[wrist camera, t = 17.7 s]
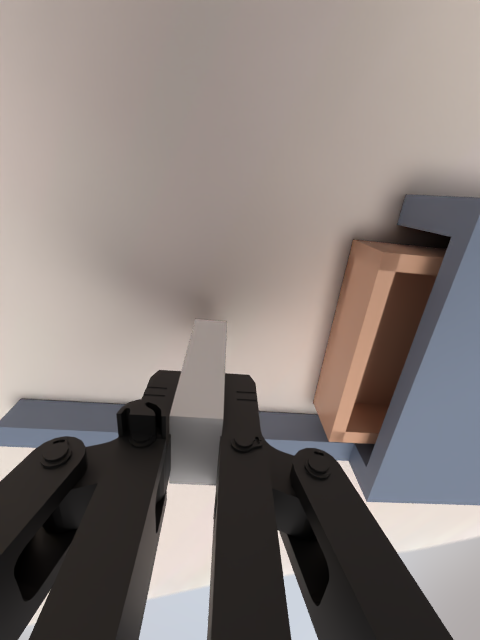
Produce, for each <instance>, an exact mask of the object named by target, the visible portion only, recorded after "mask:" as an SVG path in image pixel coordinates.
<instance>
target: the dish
mask: <svg viewBox="0 0 480 640" xmlns="http://www.w3.org/2000/svg"><path fill="white" fill-rule="evenodd" d="M446 250H447V249H444V248H434V247H424V246H414V245H404V244H394V243H384V242H374V241H364V240H354V239H353V242H352V246H351V250H350V254H349V258H348V263H347V267H346V271H345V275H344V279H343V283H342V287H341V291H340V295H339V299H338V303H337V307H336V312H335V316H334V320H333V324H332V328H331V332H330V336H329V340H328V344H327V348H326V352H325V356H324V360H323V365H322V369H321V373H320V377H319V381H318V385H317V389H316V393H315V397H314V401H313V403H314V406H315V408H316V411H317V413H318V416H319V418H320V421H321V423H322V426H323V428H324V431H325V433H326V436H327V438H328V441H329V442H345V443H366V444H375V443H376V440H377V437H378V435H379V432H380V429H381V427H382V424H383V421H384V418H385V416H386V413H387V410H388V408H389V405H390V402H391V399H392V397H393V394H394V391H395V389H396V386H397V383H398V380H399V378H400V375H401V372H402V370H403V367H404V364H405V361H406V359H407V356H408V353H409V351H410V348H411V345H412V342H413V340H414V337H415V334H416V332H417V329H418V326H419V323H420V321H421V318H422V315H423V313H424V310H425V307H426V304H427V302H428V299H429V296H430V294H431V291H432V288H433V285H434V283H435V280H436V277H437V275H438V272H439V269H440V266H441V264H442V261H443V258H444V256H445V253H446Z"/></svg>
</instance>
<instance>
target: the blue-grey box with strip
mask: <svg viewBox="0 0 480 640" xmlns="http://www.w3.org/2000/svg"><path fill="white" fill-rule="evenodd" d="M397 225H401V226H405V227H410V228H414V229H418V230H423V231H427V232H432V233H436V234H441V235H445V236H449V237H451V239H450V242H449V245H448V247H447V250H446V253H445V256H444V258H443V261H442V264H441V266H440V269H439V272H438V275H437V277H436V280H435V283H434V285H433V288H432V291H431V294H430V296H429V299H428V302H427V304H426V307H425V310H424V313H423V315H422V318H421V321H420V323H419V326H418V329H417V332H416V334H415V337H414V340H413V342H412V345H411V348H410V351H409V353H408V356H407V359H406V361H405V364H404V367H403V370H402V372H401V375H400V378H399V380H398V383H397V386H396V389H395V391H394V394H393V397H392V399H391V402H390V405H389V408H388V410H387V413H386V416H385V418H384V421H383V424H382V427H381V429H380V432H379V435H378V437H377V440H376V443H375V444H366V443H345V442H329V441H328V438H327V436H326V433H325V431H324V428H323V426H322V423H321V421H320V418H319V416H318V415H314V414H295V413H276V412H259V419H260V427H261V433H262V436H263V437H264V439H265V440H266V442H267V443H268V444H269V445H271V446H272V447H274V448H275V449H277V450H280V451H282V452H285V453H288V454H291V455H295V454H296V453H297V452H298V451H299V450H302V449H304V448H317V449H320V450H323V451H325V452H327V453H328V454H330V455H331V456H333V457H334V459H335V460H343V461H349V463H350V465H351V467H352V469H353V472H354V474H355V476H356V479H357V481H358V483H359V485H360V488H361V490H362V492H363V494H364V497H365V499H366V501H367V502H392V503H424V504H456V505H480V198H473V197H451V196H429V195H407V194H406V196H405V199H404V203H403V206H402V209H401V213H400V216H399V220H398V223H397ZM124 405H126V404H107V403H88V402H69V401H50V400H32V399H20V400H19V401H18V402H17V403H16V405H15V406H14V407H13V408H12V409H11V410H10V411H9V412H8V413H7V414H6V415H5V416H4V417H3V418H2V419H1V420H0V446H7V447H31V448H37V447H39V446H40V445H41V444H43V443H45V442H47V441H49V440H52V439H54V438H58V437H64V436H70V437H76V438H78V439H80V440H82V442H83V443H84V445H85V447H88V446H93V445H98V444H103V443H106V442H110V441H112V440H114V439H116V438H118V426H117V415H116V413H117V412H118V411H119V410H120V408H121V407H123V406H124Z"/></svg>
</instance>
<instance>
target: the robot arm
mask: <svg viewBox="0 0 480 640" xmlns="http://www.w3.org/2000/svg"><path fill="white" fill-rule="evenodd" d="M226 332H227V321H217V320H203V319H195V322H194V326H193V330H192V333H191V337H190V341H189V345H188V348H187V352H186V356H185V360H184V363H183V367H182V371H167V370H159V371H158V372H156V373H155V374H154V375H153V376H152V377H151V378H150V380H149V383H148V385H147V388H146V390H145V392H144V396H143V397H142V399H141V400H136V401H132V402H129V403H128V404H126V405H124V406H123V407H121V408H120V410H119V411H118V412H117V413H116V415H117V426H118V438H116V439H114V440H112V441H110V442H106V443H103V444H98V445H93V446H88V447H85V445H84V443H83V442H82V440H80V439H78V438H76V437H70V436H64V437H58V438H54V439H52V440H49V441H47V442H45V443H43V444H41V445H40V446H39V447H37V448H36V449H35V450H33V451H32V452H31V453H30V454H29V455H28V456H27V457H26V458H25V459H24V460H23V461H22V462H21V463H20V464H19V465H17V466H16V467H15V468H14V469H13V470H12V471H11V472H10V473H9V474H8V475H7V476H6V477H5V478H4V479H3V480H1V481H0V640H18V639H19V637H20V635H21V634H22V632H23V631H24V629H25V628H26V626H27V625H28V623H29V622H30V620H31V619H32V617H33V616H34V614H35V613H36V611H37V609H38V608H39V606H40V605H41V603H42V602H43V600H44V599H45V597H46V596H47V594H48V593H49V591H50V593H49V595H48V597H47V599H46V602H45V604H44V606H43V608H42V611H41V613H40V615H39V617H38V620H37V622H36V624H35V626H34V629H33V631H32V633H31V636H30V638H29V640H139V635H140V630H141V625H142V620H143V614H144V610H145V605H146V600H147V595H148V590H149V585H150V580H151V575H152V571H153V566H154V561H155V556H156V551H157V546H158V541H159V536H160V531H161V526H162V521H163V516H164V511H165V506H166V501H167V491H166V490H167V485H168V480H169V483H171V484H194V485H216V496H215V507H214V518H213V519H214V527H213V545H212V563H211V580H210V598H209V616H208V634H207V640H291V634H290V626H289V618H288V610H287V603H286V595H285V587H284V579H283V571H282V563H281V555H280V547H279V540H278V532H277V530H279V531H280V535H281V537H282V540H283V543H284V546H285V548H286V551H287V554H288V557H289V559H290V562H291V565H292V568H293V571H294V573H295V576H296V579H297V582H298V584H299V587H300V590H301V593H302V596H303V598H304V601H305V604H306V607H307V609H308V612H309V615H310V617H311V621H312V623H313V626H314V628H315V632H316V634H317V637H318V640H453V638H452V637H451V635H450V634H449V632H448V631H447V629H446V628H445V626H444V624H443V623H442V622H441V620H440V618H439V617H438V615H437V614H436V612H435V611H434V609H433V607H432V606H431V604H430V603H429V601H428V600H427V598H426V597H425V595H424V594H423V592H422V591H421V589H420V588H419V586H418V585H417V583H416V581H415V580H414V578H413V577H412V575H411V574H410V572H409V571H408V570H407V568H406V566H405V564H404V563H403V561H402V560H401V558H400V557H399V555H398V554H397V552H396V551H395V549H394V547H393V546H392V544H391V543H390V541H389V540H388V538H387V537H386V535H385V534H384V532H383V531H382V529H381V527H380V526H379V524H378V523H377V521H376V520H375V518H374V517H373V515H372V514H371V512H370V511H369V509H368V507H367V506H366V504H365V503H364V501H363V500H362V498H361V497H360V495H359V494H358V492H357V491H356V489H355V488H354V486H353V484H352V483H351V481H350V480H349V478H348V477H347V475H346V474H345V472H344V471H343V469H342V468H341V466H340V464H339V463H338V462H337V461H336V460H335V459H334V457H333V456H331V455H330V454H328V453H327V452H325V451H323V450H320V449H317V448H304V449H302V450H299V451H298V452H297V453H296V454H295V455H291V454H288V453H285V452H282V451H280V450H277V449H275V448H274V447H272V446H271V445H269V444H268V443H267V442H266V440H265V439H264V437H263V436H262V433H261V427H260V419H259V410H258V402H257V394H256V384H255V382H254V381H253V379H252V378H251V377H250V375H241V374H226V373H225V359H226Z"/></svg>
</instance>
